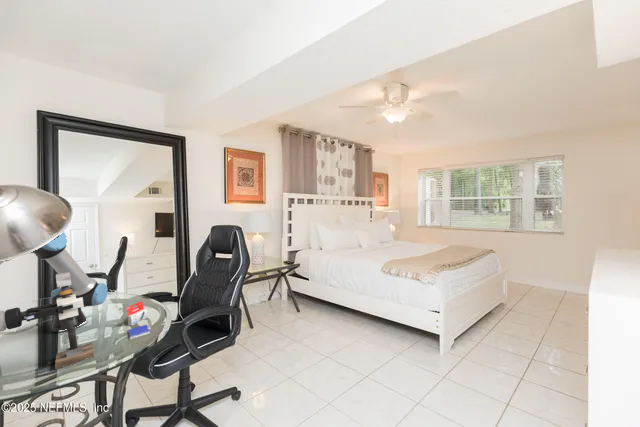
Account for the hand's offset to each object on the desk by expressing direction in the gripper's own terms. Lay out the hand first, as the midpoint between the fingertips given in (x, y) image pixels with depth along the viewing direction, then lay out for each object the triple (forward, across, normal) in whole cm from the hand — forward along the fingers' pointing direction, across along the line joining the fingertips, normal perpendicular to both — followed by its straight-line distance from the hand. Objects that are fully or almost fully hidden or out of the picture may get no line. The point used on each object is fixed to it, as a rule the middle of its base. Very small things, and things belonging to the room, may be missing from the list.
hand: (83, 301), depth 128 cm
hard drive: (+19, -7, -23) cm, 31 cm away
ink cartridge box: (+22, -26, -23) cm, 41 cm away
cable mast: (-5, 0, -22) cm, 23 cm away
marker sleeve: (-5, 0, -4) cm, 7 cm away
